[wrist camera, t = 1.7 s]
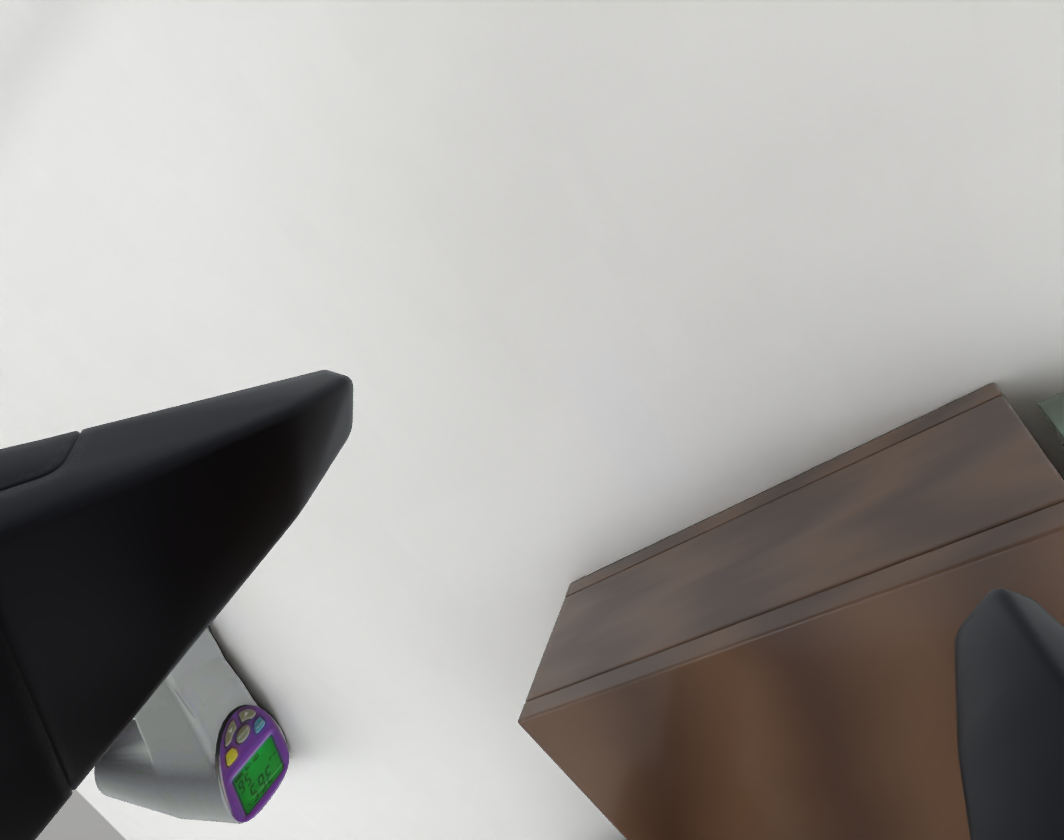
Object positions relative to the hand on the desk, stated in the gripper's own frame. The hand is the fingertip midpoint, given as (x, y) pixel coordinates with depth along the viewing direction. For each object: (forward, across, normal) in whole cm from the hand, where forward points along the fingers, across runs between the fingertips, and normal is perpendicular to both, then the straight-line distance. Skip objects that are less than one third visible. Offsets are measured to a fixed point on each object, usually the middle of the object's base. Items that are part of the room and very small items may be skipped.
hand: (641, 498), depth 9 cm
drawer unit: (+11, -9, +12) cm, 18 cm away
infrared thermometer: (+11, +21, +30) cm, 38 cm away
